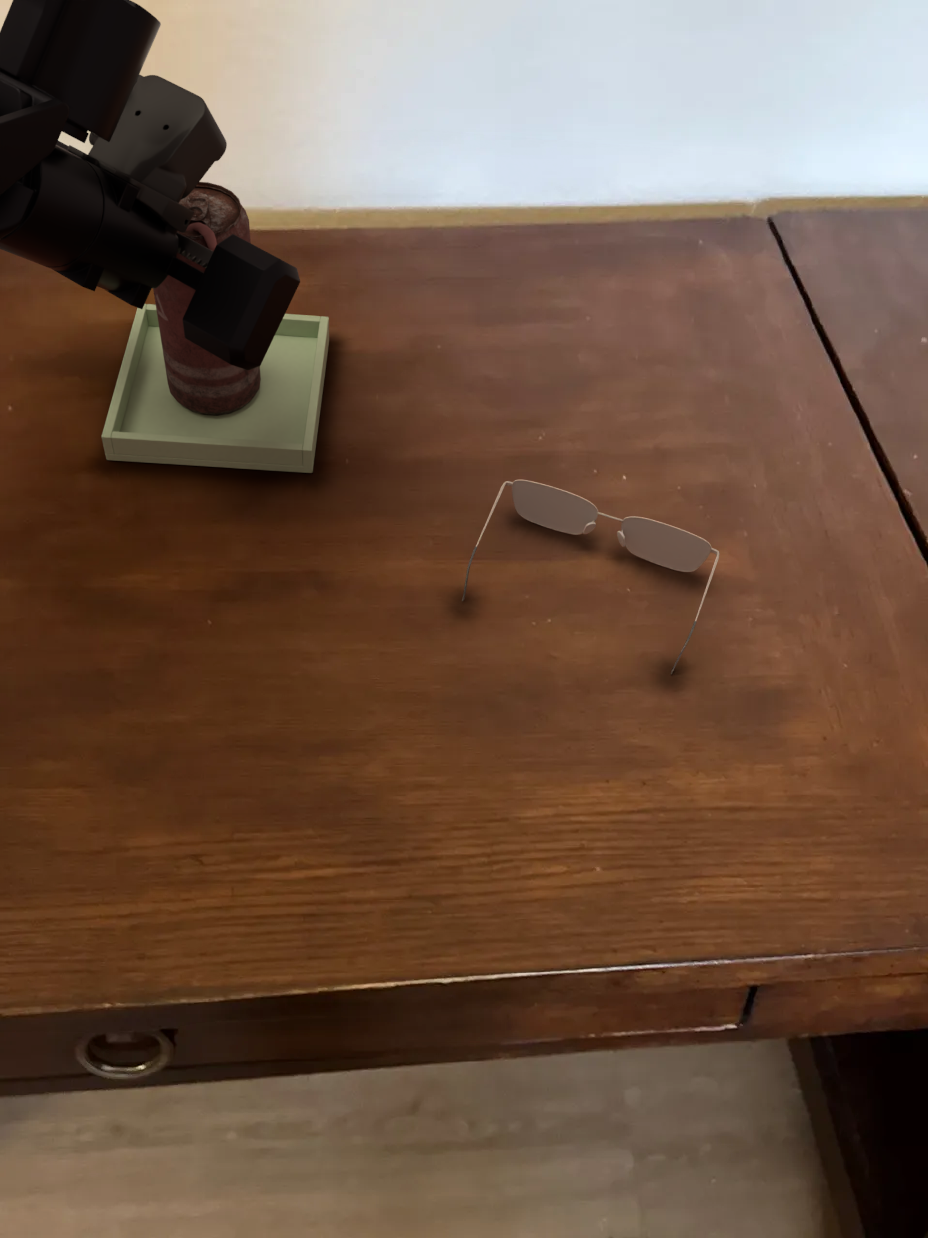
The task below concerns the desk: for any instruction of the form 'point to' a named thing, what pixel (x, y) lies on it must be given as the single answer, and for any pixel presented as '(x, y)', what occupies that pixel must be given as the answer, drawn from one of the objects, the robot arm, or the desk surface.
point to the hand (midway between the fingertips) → (224, 286)
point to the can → (188, 366)
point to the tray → (247, 438)
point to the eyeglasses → (635, 534)
